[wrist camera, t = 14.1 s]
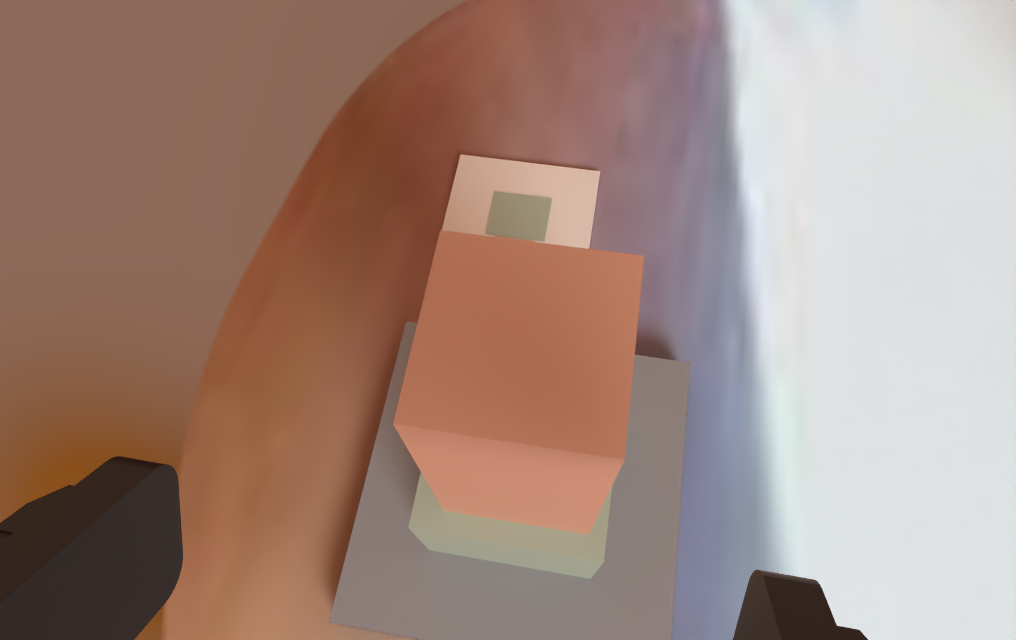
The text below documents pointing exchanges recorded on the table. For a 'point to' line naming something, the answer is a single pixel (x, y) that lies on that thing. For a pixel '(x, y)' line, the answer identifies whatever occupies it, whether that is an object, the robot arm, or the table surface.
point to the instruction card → (522, 201)
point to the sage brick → (508, 538)
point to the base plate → (514, 589)
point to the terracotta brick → (522, 378)
